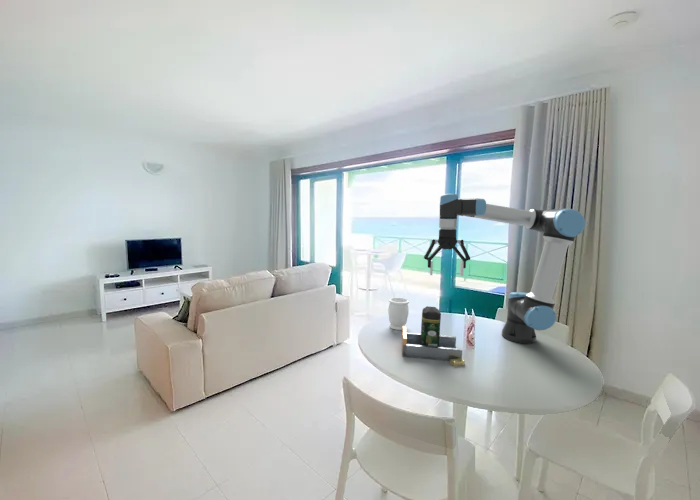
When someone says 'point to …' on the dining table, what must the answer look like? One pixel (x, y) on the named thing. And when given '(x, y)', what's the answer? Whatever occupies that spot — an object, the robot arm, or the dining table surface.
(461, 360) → the brass key block
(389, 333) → the dining table surface
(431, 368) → the dining table surface
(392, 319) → the jar
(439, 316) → the coffee jar
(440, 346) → the channel
